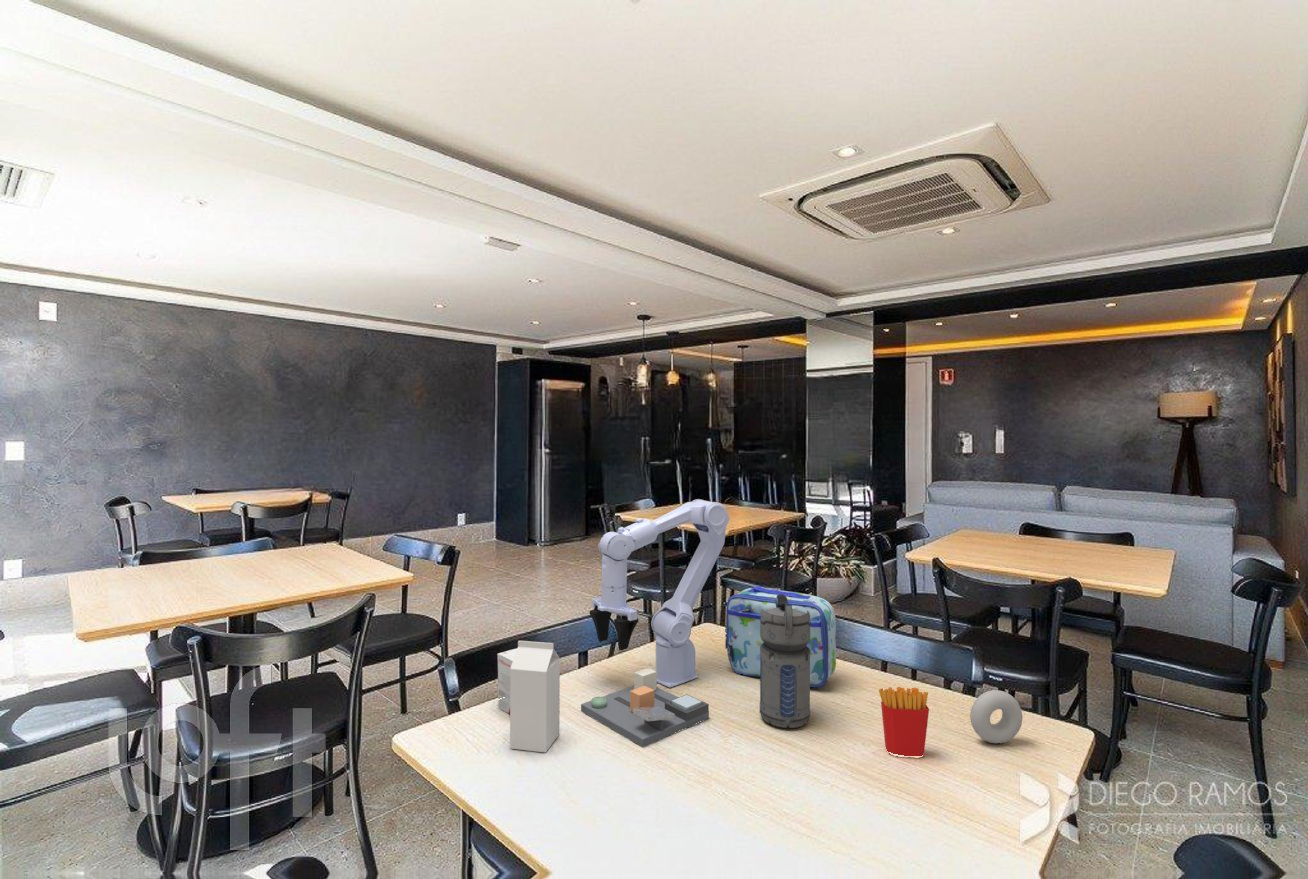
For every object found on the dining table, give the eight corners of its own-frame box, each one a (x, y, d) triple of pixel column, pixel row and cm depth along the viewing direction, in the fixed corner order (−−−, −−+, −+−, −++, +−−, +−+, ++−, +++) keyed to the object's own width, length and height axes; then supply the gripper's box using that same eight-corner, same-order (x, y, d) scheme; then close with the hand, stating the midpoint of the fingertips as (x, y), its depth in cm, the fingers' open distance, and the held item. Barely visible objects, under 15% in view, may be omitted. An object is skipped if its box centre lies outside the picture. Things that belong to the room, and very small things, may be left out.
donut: (977, 748, 114) (977, 695, 114) (965, 739, 117) (966, 687, 117) (1026, 746, 115) (1027, 693, 115) (1014, 737, 119) (1014, 685, 118)
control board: (645, 688, 141) (645, 674, 141) (709, 718, 126) (709, 703, 126) (581, 711, 129) (581, 696, 129) (643, 747, 114) (643, 730, 114)
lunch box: (720, 672, 150) (720, 587, 150) (738, 659, 159) (738, 579, 159) (825, 697, 136) (826, 603, 136) (838, 680, 146) (839, 593, 146)
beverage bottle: (803, 704, 132) (803, 589, 132) (814, 734, 119) (815, 606, 119) (756, 702, 133) (756, 588, 133) (762, 732, 120) (763, 605, 120)
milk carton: (546, 753, 111) (546, 649, 111) (509, 749, 113) (510, 647, 113) (559, 735, 118) (560, 637, 118) (525, 731, 120) (525, 634, 120)
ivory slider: (647, 685, 138) (647, 667, 138) (656, 689, 135) (656, 671, 135) (634, 690, 135) (634, 672, 135) (642, 694, 133) (643, 676, 133)
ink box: (539, 714, 127) (539, 657, 127) (518, 721, 124) (518, 663, 124) (517, 700, 134) (517, 647, 134) (496, 707, 130) (496, 652, 130)
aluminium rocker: (658, 711, 123) (659, 706, 123) (673, 719, 119) (674, 713, 120) (632, 713, 118) (633, 707, 118) (647, 721, 115) (648, 715, 115)
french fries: (923, 748, 114) (924, 684, 114) (930, 759, 110) (931, 693, 110) (876, 745, 115) (877, 682, 115) (881, 756, 111) (882, 690, 111)
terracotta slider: (644, 704, 128) (644, 685, 128) (654, 709, 126) (654, 690, 126) (630, 710, 125) (630, 690, 125) (639, 715, 123) (639, 695, 123)
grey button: (686, 702, 129) (686, 694, 129) (701, 709, 125) (701, 701, 125) (671, 708, 126) (671, 700, 126) (686, 715, 122) (686, 707, 122)
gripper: (581, 581, 142) (580, 640, 142) (620, 594, 131) (618, 657, 131) (605, 577, 147) (604, 634, 147) (644, 589, 136) (643, 650, 136)
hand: (612, 644), depth 139 cm, fingers open, 7 cm apart
